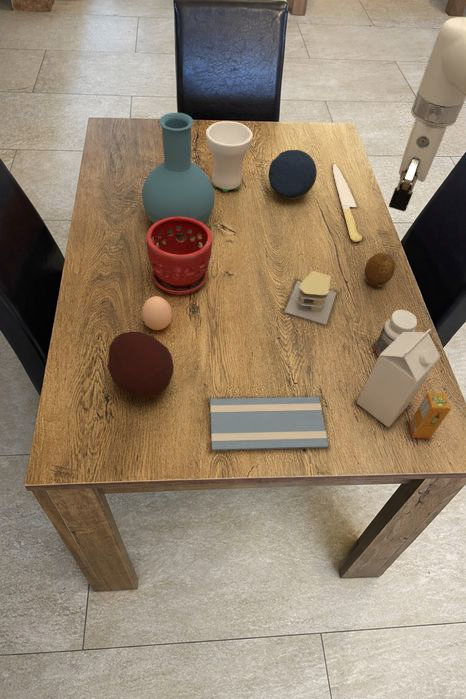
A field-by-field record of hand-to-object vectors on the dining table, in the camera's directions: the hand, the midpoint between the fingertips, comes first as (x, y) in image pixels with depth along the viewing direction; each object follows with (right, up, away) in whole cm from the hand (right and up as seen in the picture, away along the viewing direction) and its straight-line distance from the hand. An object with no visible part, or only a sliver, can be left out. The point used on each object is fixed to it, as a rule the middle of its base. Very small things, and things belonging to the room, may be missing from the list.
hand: (402, 194), depth 97 cm
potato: (-49, -36, -4) cm, 61 cm away
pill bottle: (-1, -30, +4) cm, 31 cm away
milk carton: (-5, -40, -4) cm, 41 cm away
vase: (-45, +1, +24) cm, 52 cm away
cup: (-34, +13, +35) cm, 50 cm away
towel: (-26, -43, -8) cm, 51 cm away
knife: (-3, +8, +33) cm, 34 cm away
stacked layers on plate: (-16, -20, +11) cm, 28 cm away
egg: (-48, -25, +4) cm, 54 cm away
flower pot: (-44, -14, +13) cm, 48 cm away
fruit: (-1, -15, +15) cm, 22 cm away
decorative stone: (-18, +10, +34) cm, 40 cm away
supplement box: (+1, -44, -7) cm, 45 cm away
